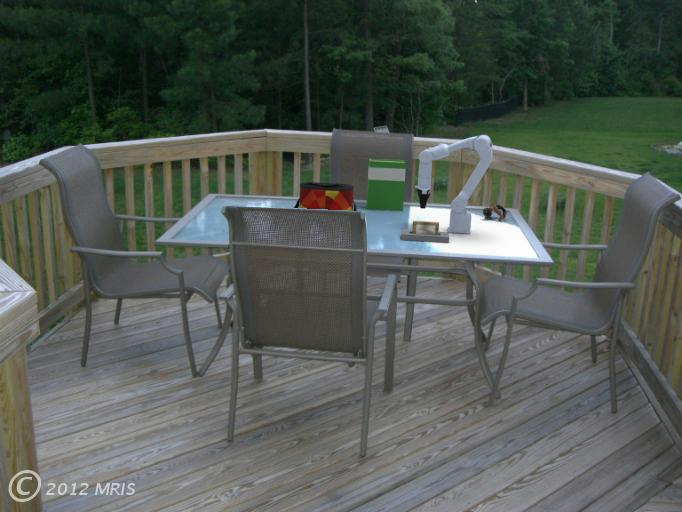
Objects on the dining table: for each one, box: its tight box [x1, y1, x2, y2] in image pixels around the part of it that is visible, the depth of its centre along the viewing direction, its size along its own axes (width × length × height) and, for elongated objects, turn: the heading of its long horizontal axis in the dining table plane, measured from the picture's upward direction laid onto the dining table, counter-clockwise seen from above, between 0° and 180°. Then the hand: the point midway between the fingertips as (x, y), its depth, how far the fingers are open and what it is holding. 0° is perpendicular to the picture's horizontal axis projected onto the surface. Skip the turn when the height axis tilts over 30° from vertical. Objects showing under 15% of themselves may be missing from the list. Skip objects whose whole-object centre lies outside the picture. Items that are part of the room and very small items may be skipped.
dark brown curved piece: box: [482, 203, 508, 222], centre depth 357 cm, size 12×10×8 cm
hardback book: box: [365, 158, 407, 212], centre depth 366 cm, size 18×7×24 cm, turn 90°
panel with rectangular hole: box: [400, 229, 450, 244], centre depth 317 cm, size 20×8×2 cm, turn 86°
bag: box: [293, 181, 358, 212], centre depth 344 cm, size 30×14×16 cm, turn 86°
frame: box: [411, 220, 440, 235], centre depth 316 cm, size 11×2×7 cm, turn 86°
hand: (422, 206), depth 335 cm, fingers open, 7 cm apart
